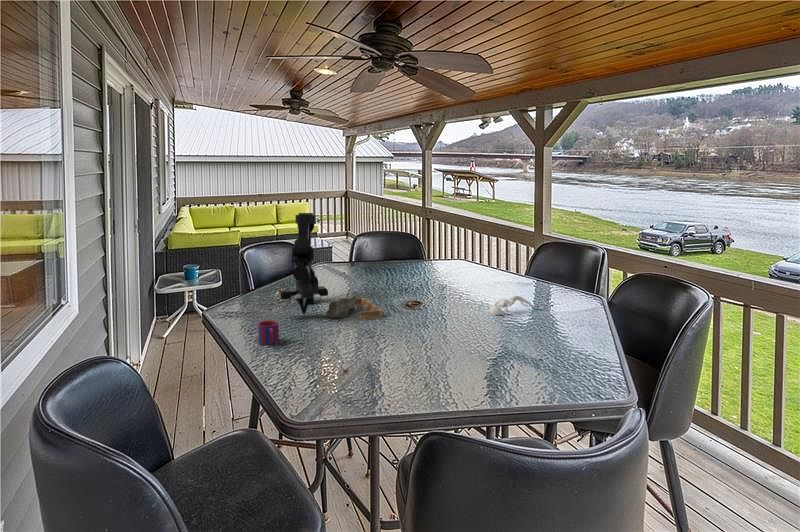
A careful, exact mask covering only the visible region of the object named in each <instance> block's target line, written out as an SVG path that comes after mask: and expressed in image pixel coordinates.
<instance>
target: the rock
mask: <svg viewBox="0 0 800 532" xmlns="http://www.w3.org/2000/svg"><path fill="white" fill-rule="evenodd" d="M356 298H357V297H356V295H353V296H351V297H342V298H339V299H338V300H333V301H331V302H329V305H328V310H327V311H326V312H325V313H326V316H327V317H329V318H333V319H336V318H345V317H347V316H348V314H349V313H352V311H354V310H355V307H356V306H355V303H356Z"/></svg>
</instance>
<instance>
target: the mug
mask: <svg viewBox="0 0 800 532" xmlns="http://www.w3.org/2000/svg"><path fill="white" fill-rule="evenodd" d="M257 330H258V331H257V337H258V338H257V339H258V344H259V345H260V346H264V345H270V346H274V344H275V345H277V344H279V342H280V335H279V321H277V320H262V321H260V322H258V323H257Z"/></svg>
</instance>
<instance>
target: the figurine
mask: <svg viewBox="0 0 800 532" xmlns="http://www.w3.org/2000/svg"><path fill="white" fill-rule="evenodd" d="M516 301H518V302H520V303H521V305H523V307H524V306H526V307H527V305H529V306H530V307H531V308H533V309H534V310H536V309H537V308H536V307H535V306H534V305H533V304H532V303H531V302H529V301H528V300H527V299H525V298H524V297H522V296H519V295H514V296H512V297H510V298H507V299H505V298H501V299H499V300H498V301H497V302H495V304H493V305H491V306H490V307H489V311H488V312H489V314H490V315H491V316H492V315H498V316H500V315H501V312H502V308H505V309H504V310H505V312H506V313H508V314H509V310H508V307H512V305H515V302H516ZM538 309H540V310H542V309H543V306H542V305H541V306H540V307H539V308H538Z"/></svg>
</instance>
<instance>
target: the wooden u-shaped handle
mask: <svg viewBox="0 0 800 532" xmlns="http://www.w3.org/2000/svg"><path fill="white" fill-rule="evenodd" d="M355 305H358V306H362V307H363V306H364V307H363V308H364V309H366V308H367V309H366V310H363V311H359V312H358V313H359V314H358V318H359V319H358V320H360V321H364V320H363V319H366V320H374V319H373V318H376V319H380V318H383V309H381V308H380V307H379V306H377V305H375V304H374V303H373V302H371V301H369V300H368V299H367V298H365V297H356V303H355ZM379 317H380V318H379Z"/></svg>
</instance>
